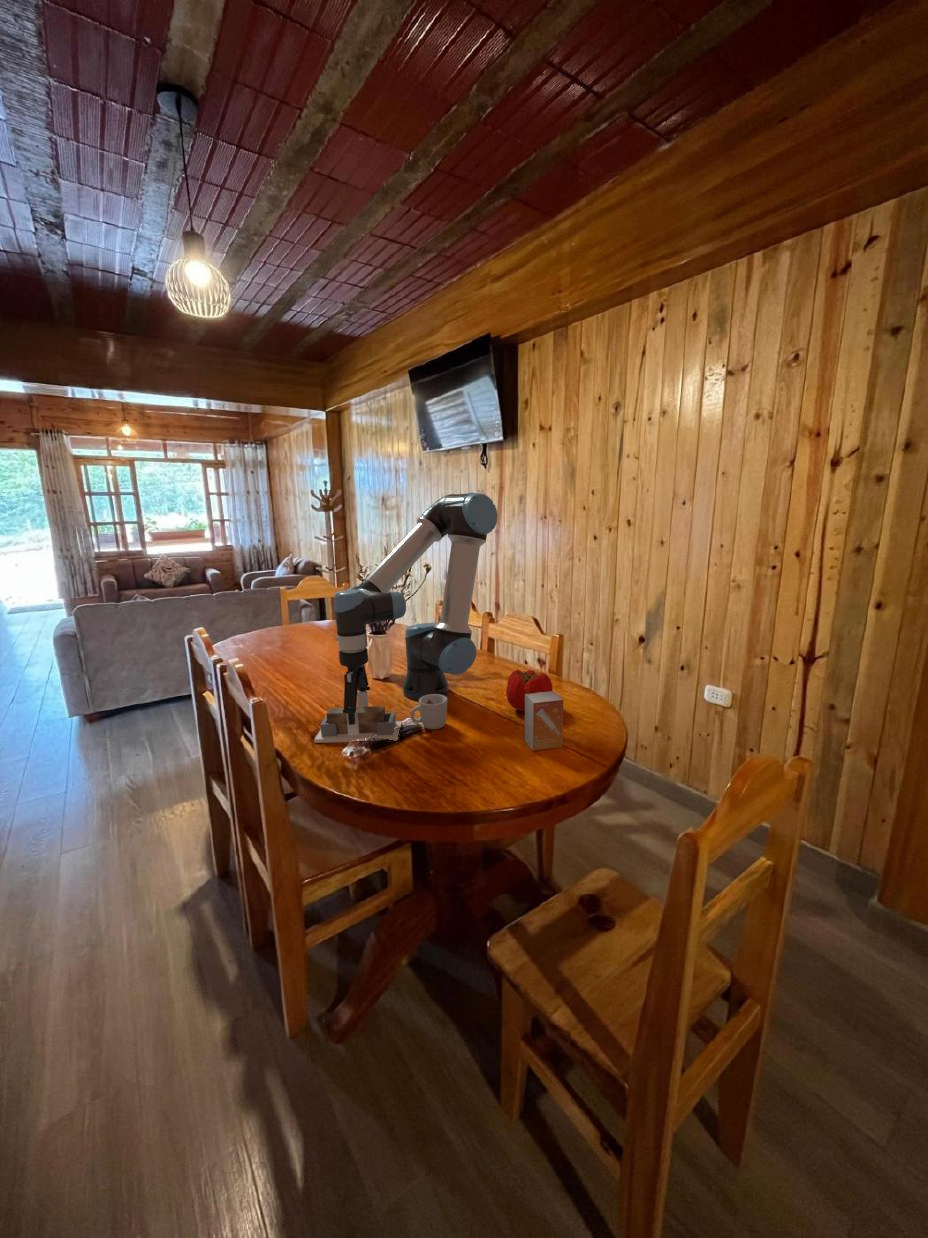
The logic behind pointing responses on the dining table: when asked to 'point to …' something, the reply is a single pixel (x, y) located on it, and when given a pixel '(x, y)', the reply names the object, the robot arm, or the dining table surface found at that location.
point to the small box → (543, 720)
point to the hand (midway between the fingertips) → (359, 723)
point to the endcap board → (383, 728)
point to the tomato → (525, 686)
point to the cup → (431, 711)
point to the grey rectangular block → (365, 718)
